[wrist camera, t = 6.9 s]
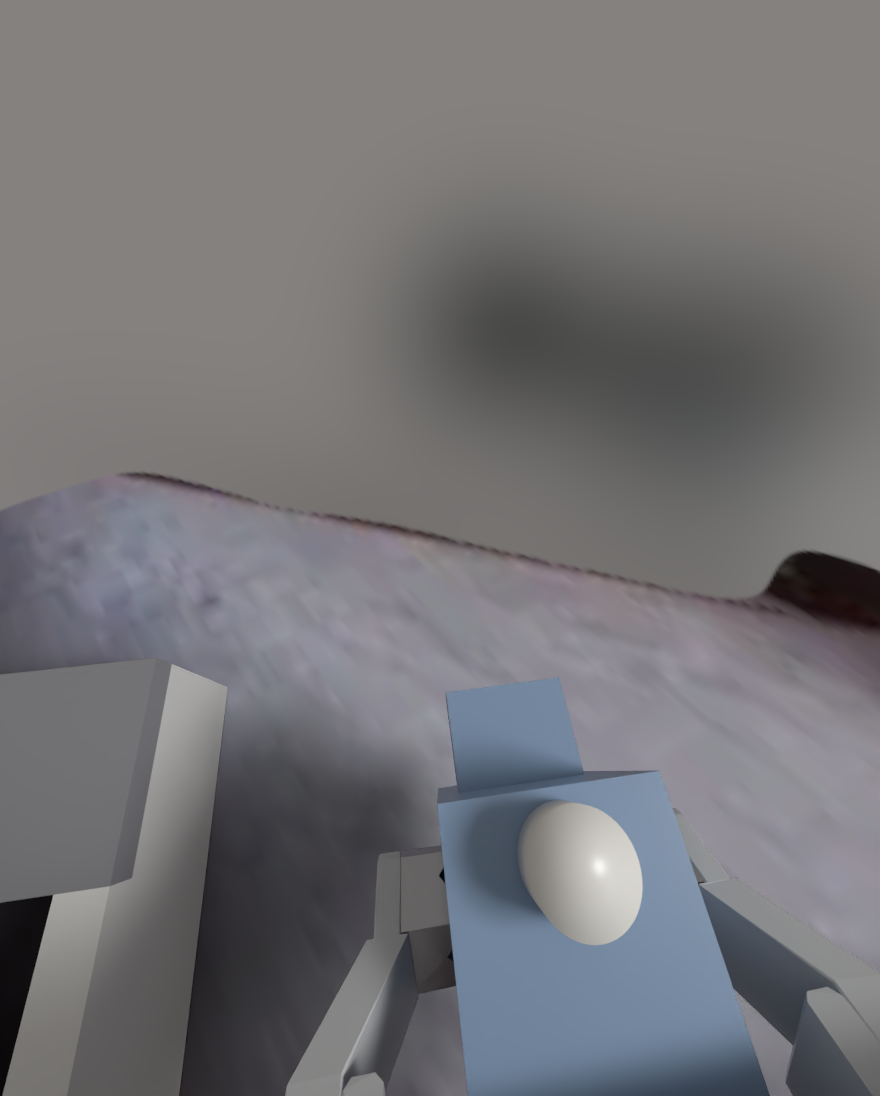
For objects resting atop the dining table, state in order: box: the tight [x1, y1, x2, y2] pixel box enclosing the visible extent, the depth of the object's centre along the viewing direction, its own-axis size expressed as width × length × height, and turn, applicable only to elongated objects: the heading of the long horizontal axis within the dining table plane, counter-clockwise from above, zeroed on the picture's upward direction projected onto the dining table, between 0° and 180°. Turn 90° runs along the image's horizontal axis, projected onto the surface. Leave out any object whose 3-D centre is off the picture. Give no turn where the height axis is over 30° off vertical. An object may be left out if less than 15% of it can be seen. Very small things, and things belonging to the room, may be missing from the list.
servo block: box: [437, 678, 770, 1096], centre depth 9 cm, size 4×8×9 cm, turn 7°
